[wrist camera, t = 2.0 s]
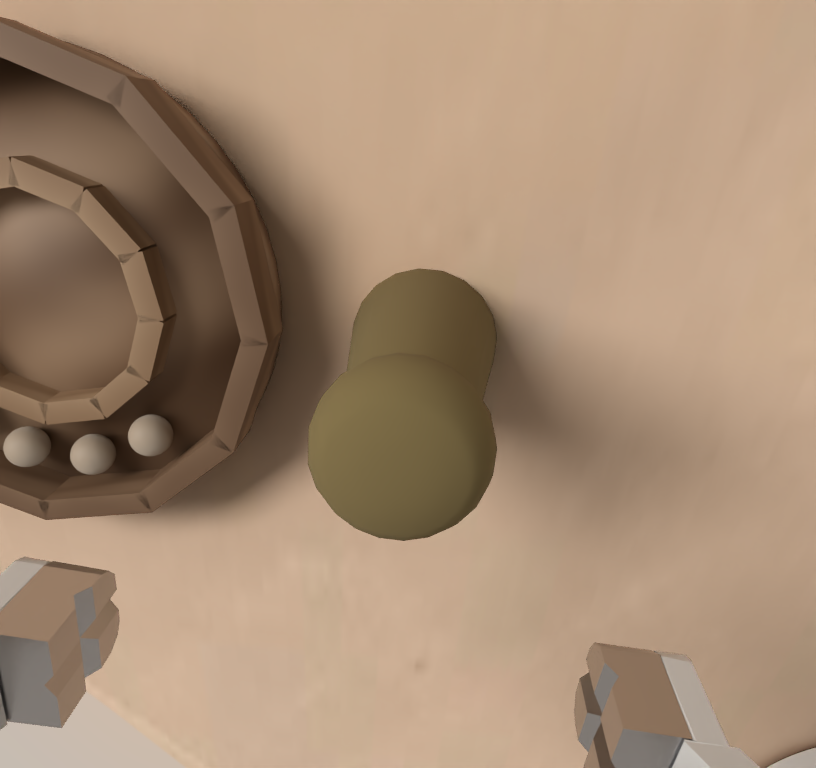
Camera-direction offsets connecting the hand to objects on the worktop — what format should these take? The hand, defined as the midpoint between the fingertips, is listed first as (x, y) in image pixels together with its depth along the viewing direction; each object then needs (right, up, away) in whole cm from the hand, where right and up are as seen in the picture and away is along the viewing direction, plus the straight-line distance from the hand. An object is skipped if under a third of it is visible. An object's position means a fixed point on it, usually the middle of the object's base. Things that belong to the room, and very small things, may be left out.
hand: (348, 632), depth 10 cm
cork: (+2, +6, +15) cm, 16 cm away
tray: (-14, +8, +15) cm, 22 cm away
